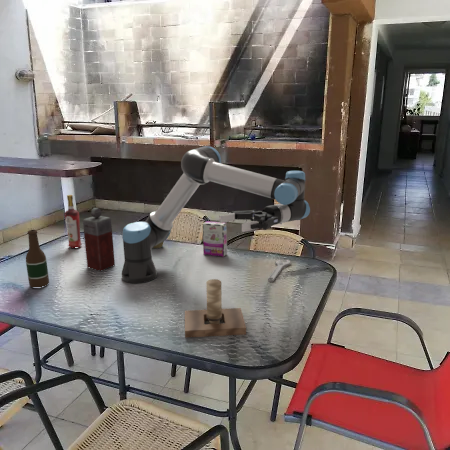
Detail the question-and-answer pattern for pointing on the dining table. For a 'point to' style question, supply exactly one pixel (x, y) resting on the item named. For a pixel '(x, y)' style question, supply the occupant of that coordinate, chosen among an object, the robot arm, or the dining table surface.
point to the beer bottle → (36, 262)
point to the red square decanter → (98, 241)
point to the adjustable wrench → (278, 269)
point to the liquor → (72, 224)
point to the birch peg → (214, 301)
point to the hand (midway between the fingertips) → (230, 223)
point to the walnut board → (230, 326)
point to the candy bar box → (215, 238)
